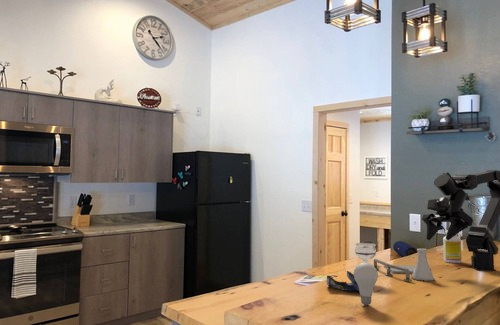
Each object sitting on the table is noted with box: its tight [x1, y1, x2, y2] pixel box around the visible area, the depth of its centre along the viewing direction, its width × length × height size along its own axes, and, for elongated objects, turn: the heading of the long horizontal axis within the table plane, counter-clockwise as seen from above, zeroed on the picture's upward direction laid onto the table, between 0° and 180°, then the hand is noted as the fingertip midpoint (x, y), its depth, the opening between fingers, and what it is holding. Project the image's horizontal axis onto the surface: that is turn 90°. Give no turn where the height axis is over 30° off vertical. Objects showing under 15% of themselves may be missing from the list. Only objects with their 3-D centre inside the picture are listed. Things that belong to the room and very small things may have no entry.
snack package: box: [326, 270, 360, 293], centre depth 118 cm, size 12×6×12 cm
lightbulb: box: [353, 261, 379, 307], centre depth 102 cm, size 6×6×11 cm
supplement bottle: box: [442, 229, 463, 264], centre depth 164 cm, size 7×7×13 cm
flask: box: [410, 248, 435, 282], centre depth 132 cm, size 7×7×10 cm
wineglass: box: [354, 242, 377, 263], centre depth 129 cm, size 7×7×12 cm
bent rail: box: [373, 258, 413, 283], centre depth 138 cm, size 4×22×4 cm, turn 14°
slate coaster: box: [383, 264, 415, 275], centre depth 146 cm, size 11×11×1 cm
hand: (437, 239), depth 137 cm, fingers open, 9 cm apart
